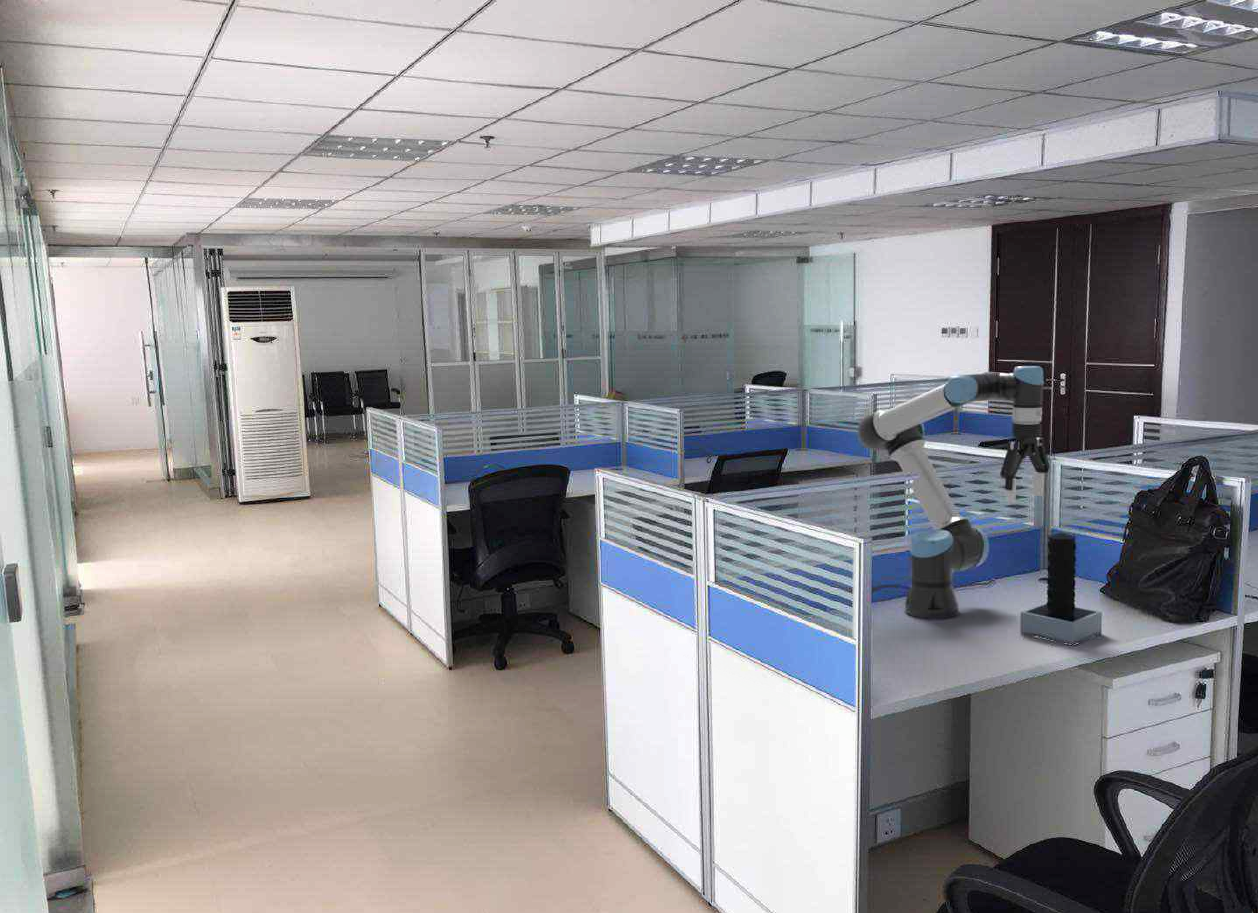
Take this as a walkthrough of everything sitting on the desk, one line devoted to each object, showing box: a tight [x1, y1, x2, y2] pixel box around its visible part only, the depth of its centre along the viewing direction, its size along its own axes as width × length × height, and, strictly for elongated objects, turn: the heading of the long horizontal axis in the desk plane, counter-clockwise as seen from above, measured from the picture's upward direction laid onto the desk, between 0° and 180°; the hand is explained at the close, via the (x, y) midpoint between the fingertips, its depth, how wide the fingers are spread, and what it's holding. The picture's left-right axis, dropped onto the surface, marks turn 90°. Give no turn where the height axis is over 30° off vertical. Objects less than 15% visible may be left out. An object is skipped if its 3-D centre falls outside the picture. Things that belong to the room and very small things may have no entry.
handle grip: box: [1046, 532, 1077, 622], centre depth 257 cm, size 10×26×10 cm
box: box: [1019, 602, 1103, 646], centre depth 258 cm, size 15×15×6 cm
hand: (1024, 498), depth 269 cm, fingers open, 13 cm apart
